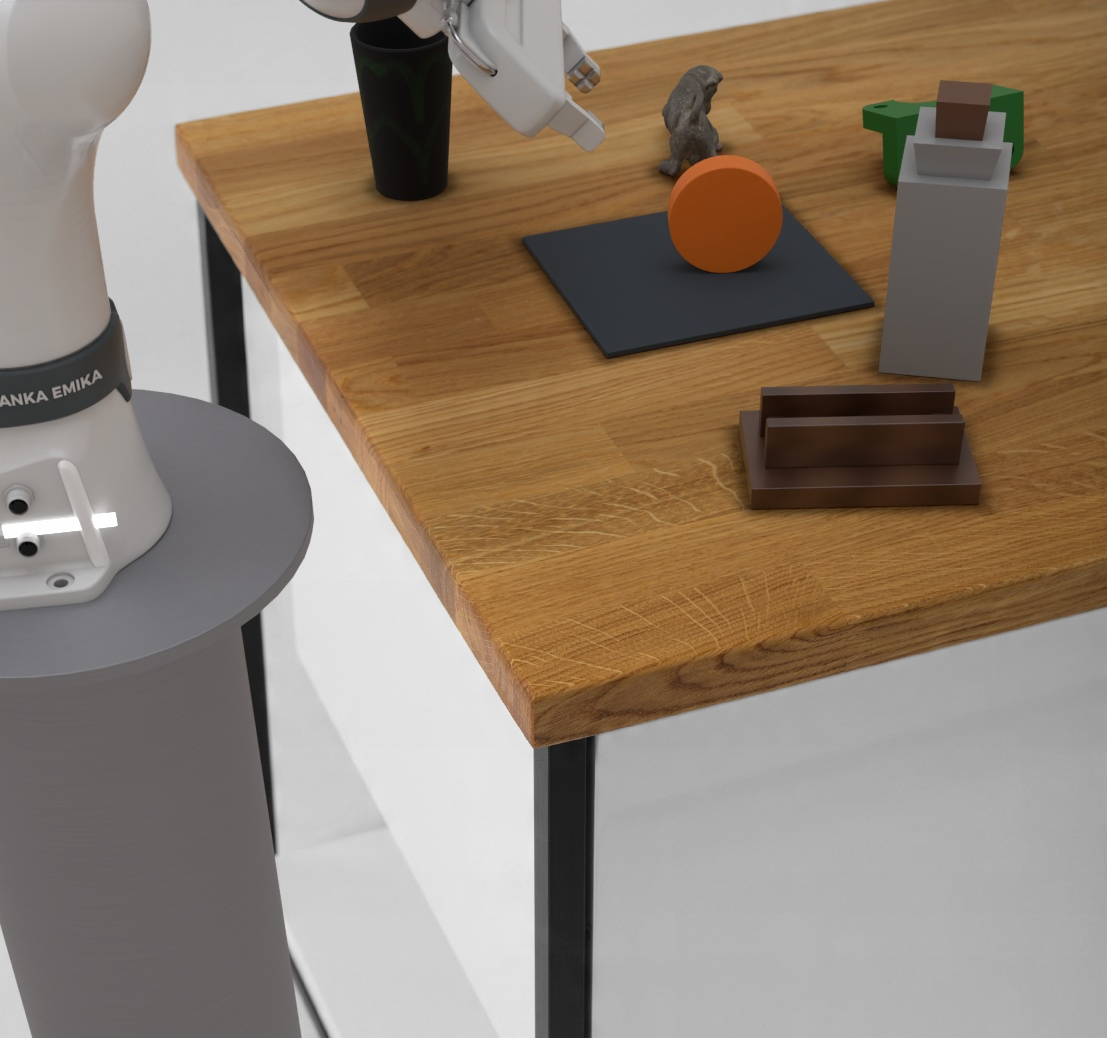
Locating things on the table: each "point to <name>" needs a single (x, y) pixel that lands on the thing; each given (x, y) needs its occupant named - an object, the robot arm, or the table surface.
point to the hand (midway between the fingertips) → (596, 111)
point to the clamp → (903, 116)
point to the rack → (857, 447)
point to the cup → (404, 106)
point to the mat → (686, 284)
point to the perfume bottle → (946, 237)
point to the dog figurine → (691, 119)
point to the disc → (724, 214)
